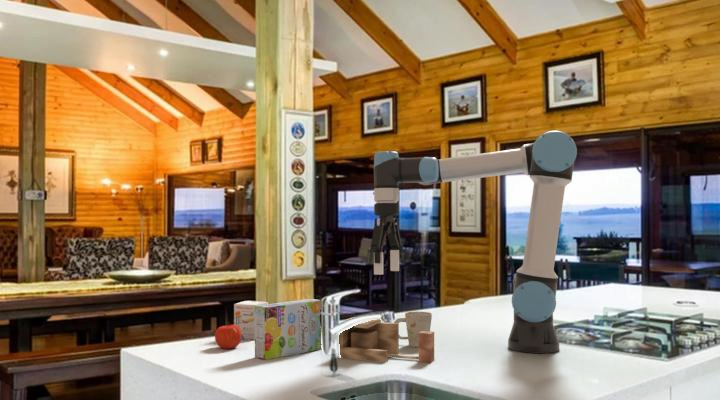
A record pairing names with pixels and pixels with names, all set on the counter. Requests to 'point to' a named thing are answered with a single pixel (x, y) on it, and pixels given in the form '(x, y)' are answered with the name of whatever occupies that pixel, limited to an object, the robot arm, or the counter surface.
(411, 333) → the mug
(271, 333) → the snack box
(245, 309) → the ink box
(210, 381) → the counter surface
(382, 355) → the cubby
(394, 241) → the robot arm
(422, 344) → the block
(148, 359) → the counter surface
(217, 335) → the apple
